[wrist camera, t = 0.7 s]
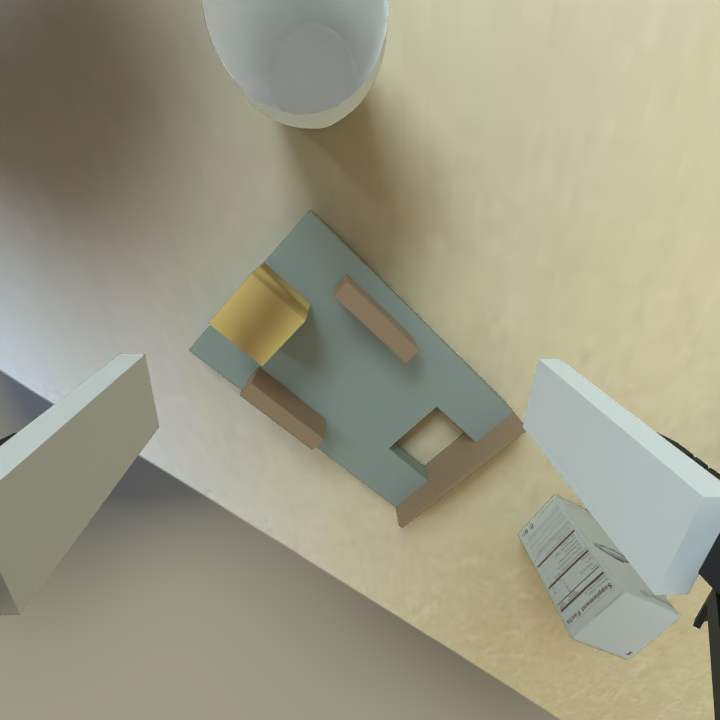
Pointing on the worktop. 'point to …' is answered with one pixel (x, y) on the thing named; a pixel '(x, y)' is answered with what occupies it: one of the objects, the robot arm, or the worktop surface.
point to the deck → (365, 376)
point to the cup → (300, 54)
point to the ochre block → (261, 314)
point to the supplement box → (593, 581)
